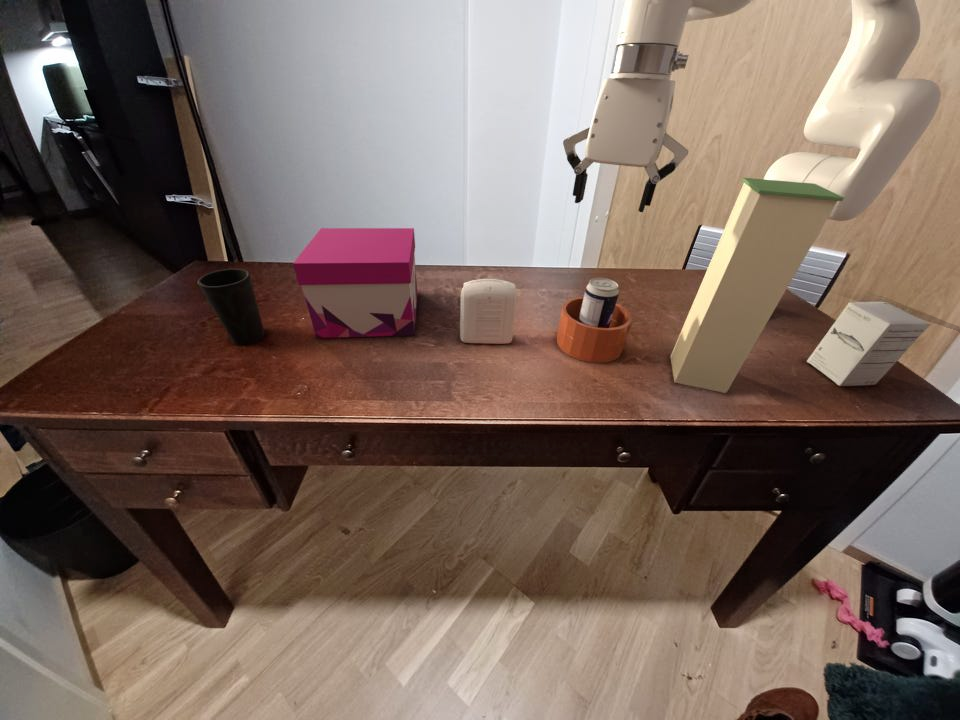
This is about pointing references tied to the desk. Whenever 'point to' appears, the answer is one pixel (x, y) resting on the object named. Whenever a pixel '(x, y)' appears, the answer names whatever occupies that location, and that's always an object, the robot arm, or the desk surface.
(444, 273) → the desk surface
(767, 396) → the desk surface
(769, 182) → the mat
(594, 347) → the pot
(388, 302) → the decorative box
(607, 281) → the beverage can
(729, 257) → the plant stand
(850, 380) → the white packaging box
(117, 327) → the desk surface
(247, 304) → the cup
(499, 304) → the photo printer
